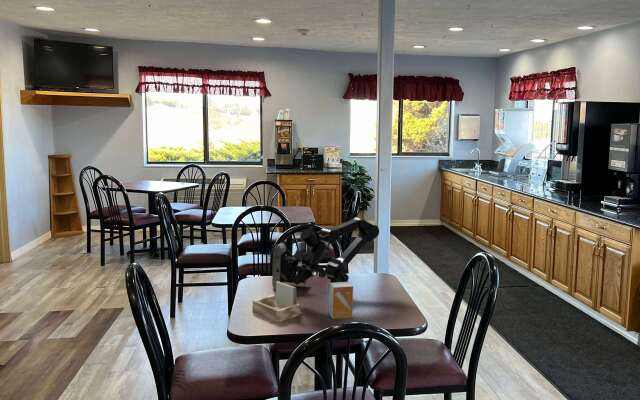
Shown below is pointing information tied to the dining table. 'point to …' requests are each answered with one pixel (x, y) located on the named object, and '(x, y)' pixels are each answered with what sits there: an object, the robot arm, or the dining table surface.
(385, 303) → the dining table surface
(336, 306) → the small box
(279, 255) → the vintage camera
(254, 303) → the wooden tray
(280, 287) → the door
